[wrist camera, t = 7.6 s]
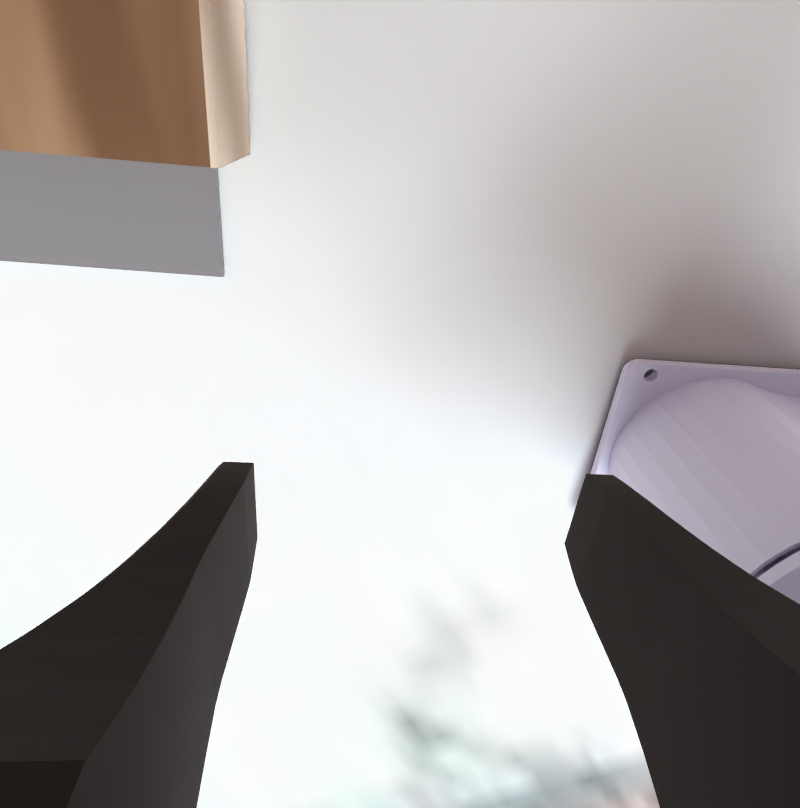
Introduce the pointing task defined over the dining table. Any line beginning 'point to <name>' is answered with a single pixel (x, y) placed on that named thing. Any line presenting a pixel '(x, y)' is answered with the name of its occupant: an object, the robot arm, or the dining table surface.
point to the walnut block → (125, 80)
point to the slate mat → (110, 214)
